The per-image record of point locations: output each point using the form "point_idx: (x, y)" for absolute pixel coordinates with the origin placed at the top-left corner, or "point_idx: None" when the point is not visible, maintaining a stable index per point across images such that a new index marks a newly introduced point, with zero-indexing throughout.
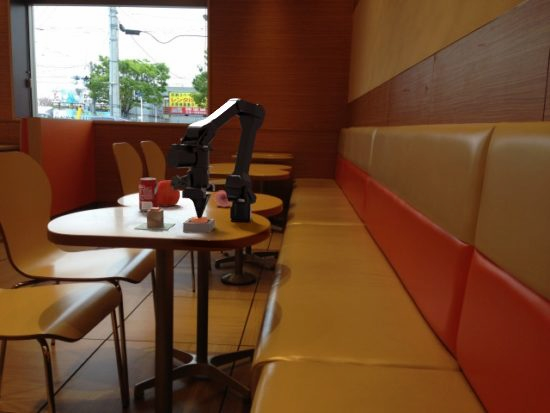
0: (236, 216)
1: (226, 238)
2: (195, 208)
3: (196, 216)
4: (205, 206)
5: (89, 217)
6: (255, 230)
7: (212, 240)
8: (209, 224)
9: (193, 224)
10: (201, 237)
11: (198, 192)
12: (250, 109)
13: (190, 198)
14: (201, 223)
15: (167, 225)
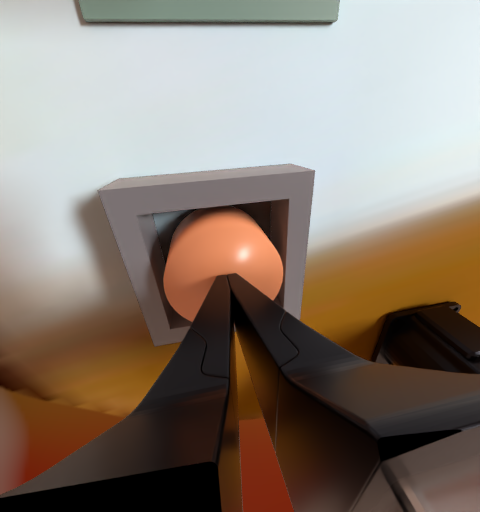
0: (405, 344)
1: (80, 392)
2: (192, 327)
3: (272, 248)
4: (256, 389)
5: None
6: (247, 408)
7: (6, 372)
8: (154, 342)
9: (128, 262)
10: (29, 320)
11: None
12: None
13: (48, 490)
14: (147, 308)
15: None
